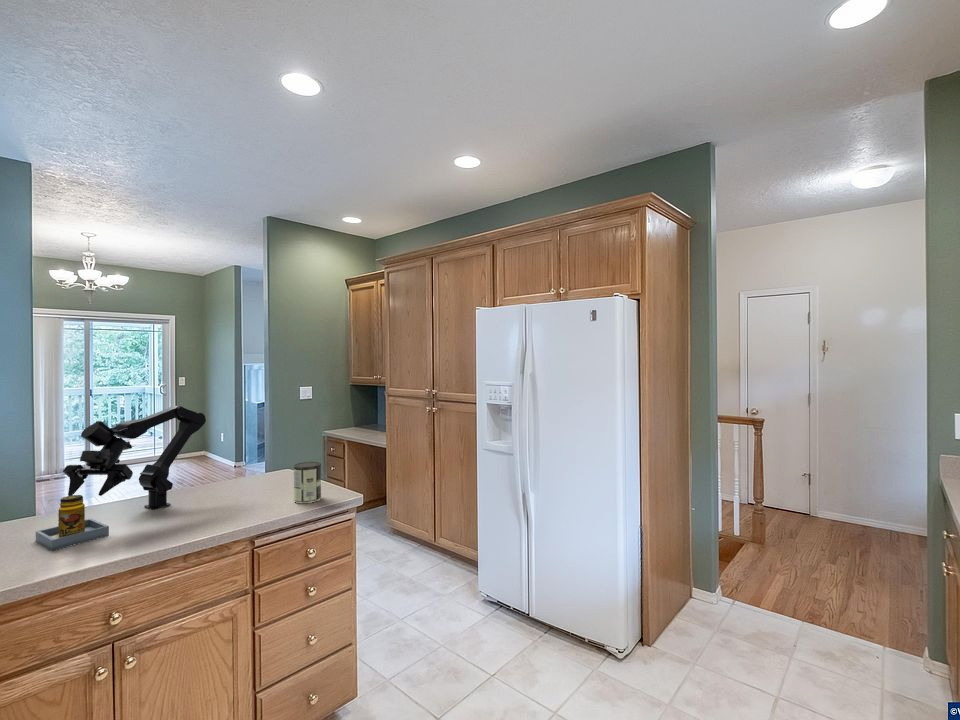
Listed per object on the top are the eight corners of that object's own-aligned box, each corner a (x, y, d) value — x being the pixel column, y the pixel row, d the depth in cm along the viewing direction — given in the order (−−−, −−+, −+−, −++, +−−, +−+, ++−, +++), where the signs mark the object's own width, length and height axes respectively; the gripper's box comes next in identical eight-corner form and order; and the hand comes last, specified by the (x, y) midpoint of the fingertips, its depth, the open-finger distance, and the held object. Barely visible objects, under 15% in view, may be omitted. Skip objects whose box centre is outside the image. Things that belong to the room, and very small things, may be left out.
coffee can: (309, 494, 189) (309, 460, 189) (326, 498, 184) (326, 463, 184) (287, 501, 181) (287, 465, 181) (304, 505, 175) (304, 468, 175)
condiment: (66, 541, 138) (66, 501, 138) (46, 538, 140) (47, 498, 140) (93, 532, 145) (93, 494, 145) (74, 529, 147) (74, 492, 147)
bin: (35, 541, 140) (35, 531, 140) (91, 527, 152) (91, 518, 152) (51, 550, 133) (51, 540, 133) (108, 535, 145) (108, 526, 145)
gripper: (67, 440, 152) (37, 483, 141) (126, 439, 153) (101, 481, 142) (86, 459, 159) (59, 500, 149) (142, 458, 161) (120, 499, 150)
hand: (84, 495), depth 147 cm, fingers open, 9 cm apart
